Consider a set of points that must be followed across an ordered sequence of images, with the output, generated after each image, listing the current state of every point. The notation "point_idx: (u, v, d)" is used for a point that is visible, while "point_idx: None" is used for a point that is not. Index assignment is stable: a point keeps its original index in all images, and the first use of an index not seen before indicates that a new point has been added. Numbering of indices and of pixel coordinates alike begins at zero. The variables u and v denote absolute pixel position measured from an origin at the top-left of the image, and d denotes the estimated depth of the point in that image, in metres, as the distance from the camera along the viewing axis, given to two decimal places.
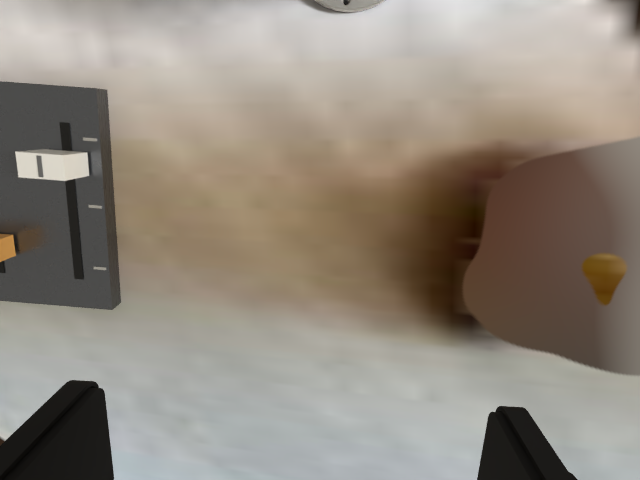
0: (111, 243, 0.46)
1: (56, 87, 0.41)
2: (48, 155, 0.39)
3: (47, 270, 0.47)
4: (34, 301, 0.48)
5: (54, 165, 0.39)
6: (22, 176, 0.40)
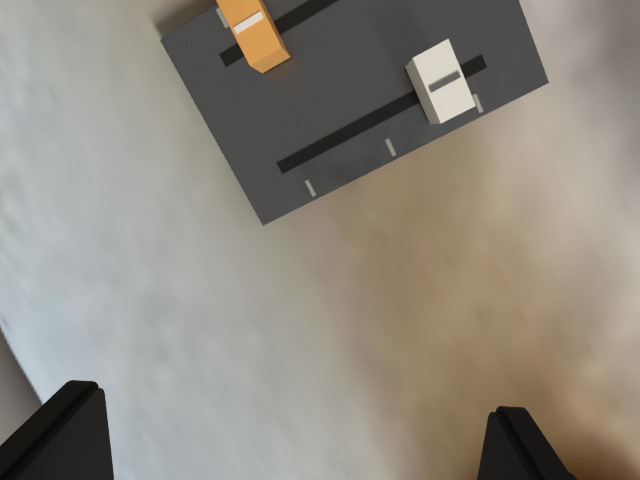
0: None
1: (526, 30, 0.29)
2: (465, 87, 0.27)
3: (265, 122, 0.32)
4: (210, 123, 0.33)
5: (456, 100, 0.27)
6: (416, 63, 0.26)
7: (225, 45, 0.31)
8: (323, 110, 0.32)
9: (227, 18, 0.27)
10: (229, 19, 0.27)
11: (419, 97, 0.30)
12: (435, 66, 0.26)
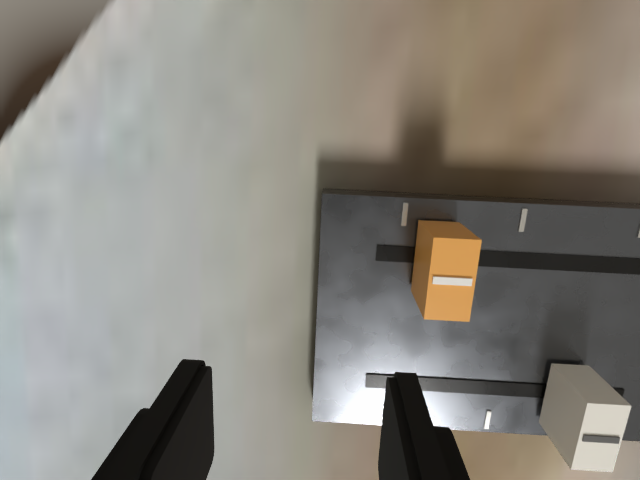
0: None
1: None
2: (616, 452, 0.24)
3: (380, 332, 0.27)
4: (321, 301, 0.27)
5: (599, 458, 0.24)
6: (587, 409, 0.23)
7: (389, 240, 0.25)
8: (446, 354, 0.27)
9: (432, 264, 0.21)
10: (434, 266, 0.21)
11: (547, 399, 0.27)
12: (602, 421, 0.23)
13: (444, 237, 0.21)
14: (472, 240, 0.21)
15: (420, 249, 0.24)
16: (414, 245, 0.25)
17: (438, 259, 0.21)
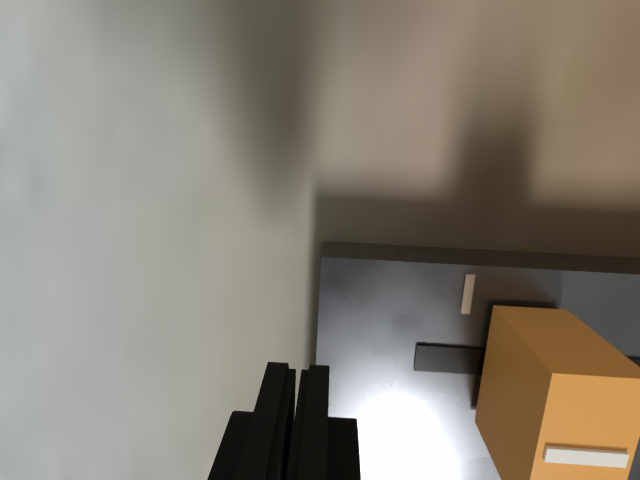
0: None
1: None
2: None
3: None
4: None
5: None
6: None
7: (438, 336, 0.15)
8: None
9: (547, 423, 0.10)
10: (549, 428, 0.10)
11: None
12: None
13: (573, 371, 0.10)
14: (635, 380, 0.10)
15: (502, 366, 0.13)
16: (482, 345, 0.14)
17: (559, 415, 0.10)
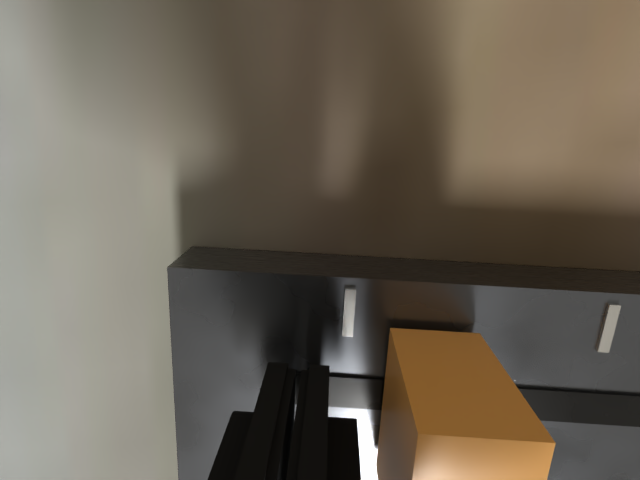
0: None
1: None
2: None
3: None
4: (186, 476, 0.13)
5: None
6: None
7: (317, 363, 0.12)
8: None
9: None
10: None
11: None
12: None
13: (448, 430, 0.07)
14: (528, 444, 0.07)
15: (391, 407, 0.10)
16: (372, 374, 0.12)
17: None
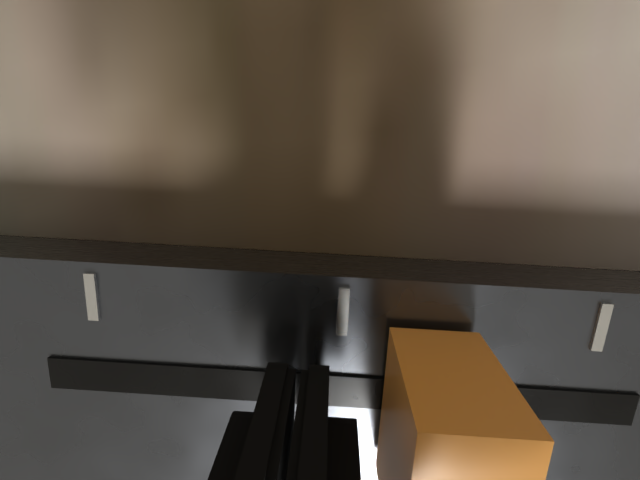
0: None
1: None
2: None
3: None
4: None
5: None
6: None
7: (72, 347, 0.12)
8: None
9: None
10: None
11: None
12: None
13: (448, 429, 0.08)
14: (527, 443, 0.07)
15: (391, 406, 0.10)
16: (125, 358, 0.12)
17: None
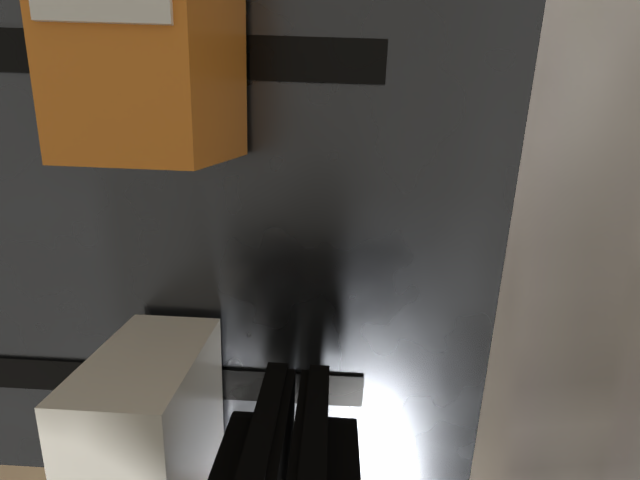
0: None
1: (478, 380, 0.12)
2: None
3: None
4: None
5: None
6: (42, 426, 0.08)
7: None
8: None
9: None
10: None
11: None
12: (96, 461, 0.08)
13: None
14: None
15: None
16: None
17: None
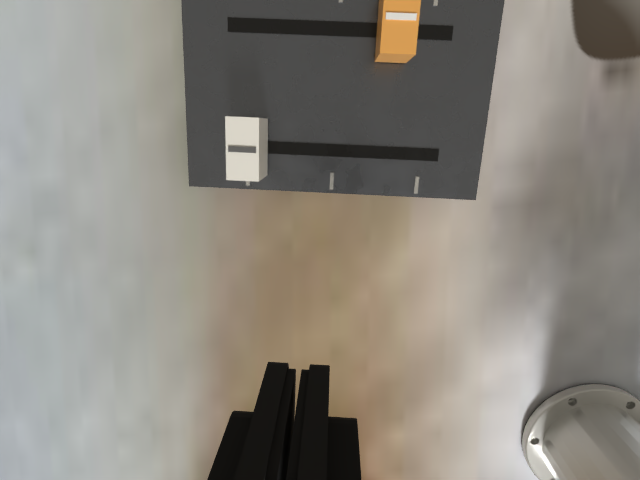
0: None
1: (480, 150, 0.33)
2: (257, 162, 0.30)
3: (237, 100, 0.33)
4: (187, 71, 0.33)
5: (245, 169, 0.30)
6: (226, 122, 0.29)
7: (237, 12, 0.31)
8: (292, 119, 0.33)
9: (385, 1, 0.27)
10: (386, 3, 0.27)
11: None
12: (240, 133, 0.30)
13: None
14: None
15: (379, 11, 0.30)
16: (257, 17, 0.31)
17: None
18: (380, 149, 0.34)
